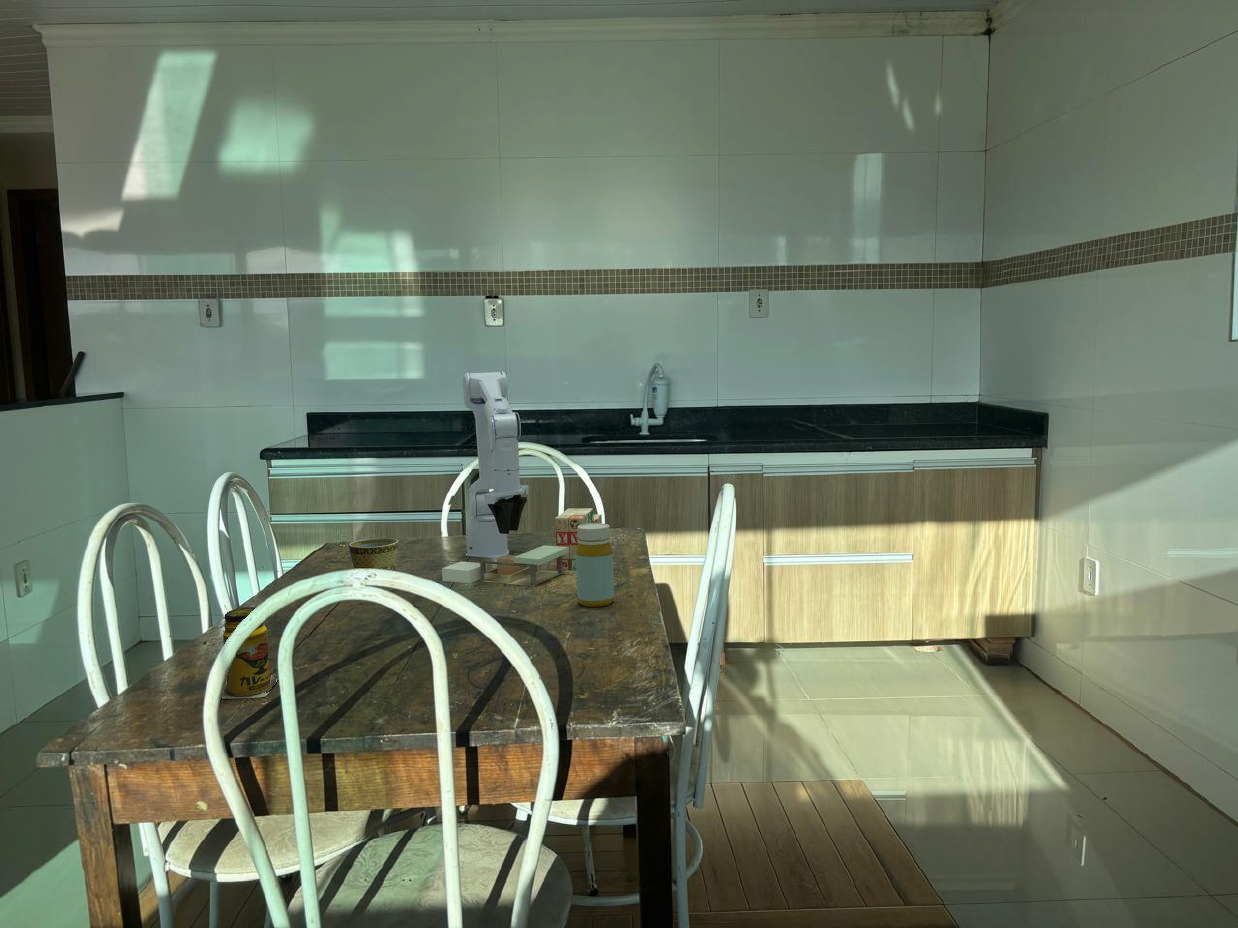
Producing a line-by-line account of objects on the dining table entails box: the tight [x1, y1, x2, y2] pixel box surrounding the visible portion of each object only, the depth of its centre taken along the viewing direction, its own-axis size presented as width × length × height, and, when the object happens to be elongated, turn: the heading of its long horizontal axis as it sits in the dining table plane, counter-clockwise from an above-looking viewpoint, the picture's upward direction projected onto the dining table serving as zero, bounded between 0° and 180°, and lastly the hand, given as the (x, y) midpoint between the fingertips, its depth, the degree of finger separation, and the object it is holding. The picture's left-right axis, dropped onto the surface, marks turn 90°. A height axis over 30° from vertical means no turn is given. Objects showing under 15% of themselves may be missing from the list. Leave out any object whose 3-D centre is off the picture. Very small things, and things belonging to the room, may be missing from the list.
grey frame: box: [479, 549, 565, 587], centre depth 204 cm, size 13×13×5 cm
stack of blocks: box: [554, 507, 603, 571], centre depth 218 cm, size 21×6×12 cm, turn 169°
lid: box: [514, 544, 569, 566], centre depth 201 cm, size 6×13×1 cm, turn 154°
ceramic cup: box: [348, 537, 399, 571], centre depth 198 cm, size 13×10×10 cm
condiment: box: [221, 606, 278, 700], centre depth 138 cm, size 7×8×12 cm
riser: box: [441, 561, 489, 584], centre depth 204 cm, size 7×7×3 cm
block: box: [496, 554, 523, 575], centre depth 205 cm, size 4×4×4 cm
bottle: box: [575, 522, 615, 608], centre depth 181 cm, size 7×7×15 cm
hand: (508, 531), depth 204 cm, fingers open, 3 cm apart
